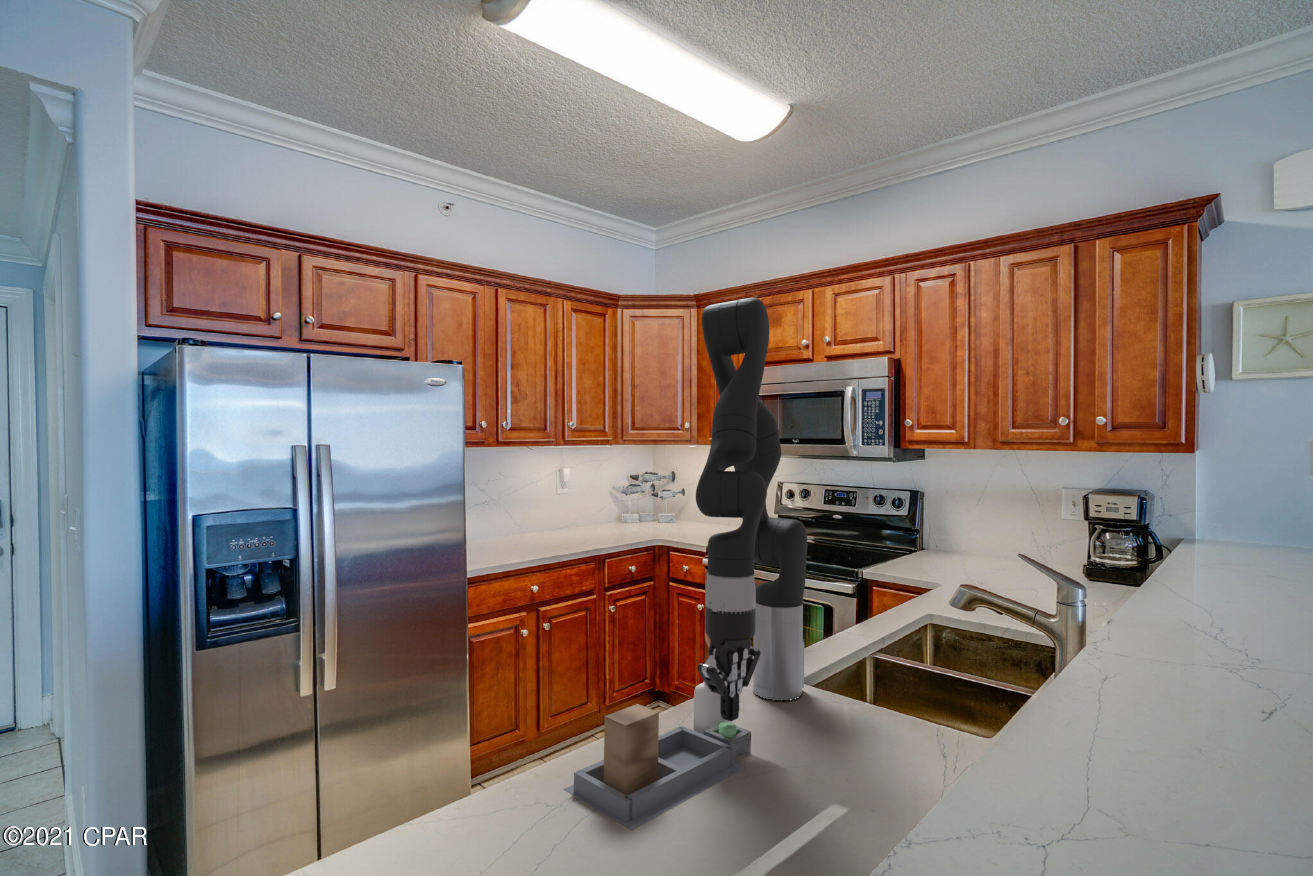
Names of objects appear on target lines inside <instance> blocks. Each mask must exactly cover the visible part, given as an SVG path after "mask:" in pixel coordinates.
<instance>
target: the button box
mask: <svg viewBox="0 0 1313 876" xmlns="http://www.w3.org/2000/svg"><path fill="white" fill-rule="evenodd" d="M723 723H724V722H723ZM704 735H706V736H708V737H711V738H713V739H715V740H718V741H720V742H723V743H725V744H728V745H730V746H733V747H734V758H736V757H737V756H740V755H741V754H743V753H747V754H748V755H751V753H752V748H751V747H752V744H751V743H752V731H750V730H748V729H745V728H743V727H740V726H737V725H736V735H734V736H732V737H730V738H728V737H726V736H723V735H721V734H719V724H718V725H716V726H714V727H712V728H710V729H707V730H705V731H704Z"/></svg>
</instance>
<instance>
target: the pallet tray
mask: <svg viewBox="0 0 1313 876" xmlns="http://www.w3.org/2000/svg"><path fill="white" fill-rule="evenodd" d="M743 769H745V767H744V766H743V765H740V764H738V763H736V762H735V757H734V747H733V746H730V745H728V744H725V743H723V742H720V741H718V740H715V739H713V738H711V737H708V736H706V735H703V734H701V733H698V732H696V731H694V729H691V728H689V727H686V726H683V725H681V726H679V727H676V728H675V729H672V730H669V731H668V732H665V733H662V734H661V735H659V736H658V781H656V782H654V783H652V784H650V785H648V786H646V787H644V788H642V789H640V790H638V791H636V792H634V793H632V794H630V795H628V796H626V795H624V794H623V793H621V792H619V791H617V790H615V789H614V788H612V787H610V786H608V785H606V784H605V783H604V759H603V760H599V761H598V762H596V763H593V764H591V765H589V766H586V767H584V768H582V769H579V770H577V771H574V772H573V784H572V785H569V786H568V787H565V788H563V790H564V791H565V792H567V793H569V794H570V795H572V796H573V797H576V798H577V799H578V800H581V801H582V802H584V803H585V804H587V805H588V806H591V807H592V808H594V809H596V810H597V811H599V812H601V813H602V814H604V815H606V816H607V817H609V818H610V819H612V820H614V821H616V822H617V823H619V824H621V825H622V826H624V827H625V828H627V829H629V830H631V831H633V830H635V829H637V828H638V827H640V826H642V825H644V824H646V823H647V822H650V821H651V820H653V819H655V818H657V817H658V816H660V815H662V814H664V813H666V812H667V811H670V810H671V809H673V808H675V807H677V806H679V805H680V804H682V803H684V802H685V801H687V800H689V799H691V798H693V797H694V796H697V795H699V794H700V793H702V792H703V791H704V792H705V791H706V790H707V789H709V788H711V787H712V786H715V785H716V784H718V783H720V782H722V781H724V780H725V779H727V778H730V777H731V776H733V775H734V774H736V773H739V772H740V771H742V770H743Z"/></svg>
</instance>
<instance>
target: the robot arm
mask: <svg viewBox="0 0 1313 876" xmlns="http://www.w3.org/2000/svg"><path fill="white" fill-rule="evenodd" d="M701 330H702V334H703V335H702V336H703V341H704V345H705V348H706V353H707V355H708V358H709V362H710V363H709V364H710V366H711V369H712V373H713V376H714V379H715V382H716V387H717V391H718V396H719V397H718V399H717V401H716V404H715V407H714V409H713V413H712V422H711V425H712V426H711V438H710V439H711V441H710V449H709V453H708V456H707V459H706V462H705V465H704V467H703V470H702V471H701V475H700V477H699V479H698V483H697V485H696V489H695V502H696V506H697V508H698V510H699V511H700V513H701V514H703V515H704V516H705V517H709V518H728V519H729V518H732V519H733V518H734V519H739V518H740V519H741V520H742V522H741V524H740V526H739V527H738V528H736V529H734V530H730V531H723V532H719V533H715V534H713V535H710V537H709V539H708V541H707V576H706V577H707V578H706V584H705V616H704V617H705V623H704V624H705V627H704V628H705V633H706V636H708V637H709V639H710V642H709V643H710V644H709V646H708V657H707V659H706V661H705V662H704V663H702V662H701V663H699V664H698V665H697V671H698V673H699V674H700V676H701V678H702V679H703V682H704V681H705V683H706V684H707V686H708V688H709V689H710V691H711V692H713V693H717V694H720V706H721V707H720V713H721V717H722V718H723V719H725V720H728V721H729V723H732V722H734V721H736V720H737V719H739V717H740V716H739V715H740V714H739V712H740V695H741V693H742V691H743V688H744V687H746V688H747V687H748V686H749V685H750V682H751V680H752V692H753V693H754V694H755V696H757V695H758V696H757V697H759V696H760V698H762V697H763V698H762V699H765V698H766V699H765V700H768V699H772V700H771V701H775V700H781V701H780V702H783V701H782V700H790V699H795V698H797V697H799V696H800V695H801V694H803V691H802V688H804V689H805V641H804V639H803V637H804V635H803V634H804V633H803V632H804V631H803V630H804V627H803V626H804V622H803V621H804V619H803V618H804V617H803V615H804V593H805V588H806V587H805V586H806V573H807V571H806V570H807V555H808V534H807V530H806V527H805V525H804V523H803V522H802V521H801V520H799V519H798V520H797V519H793V518H782V517H771V516H769V514H768V509H767V503H766V502H767V496H768V489H769V486H770V485H771V482H772V479H773V478H774V476H775V473H776V472H777V469H778V467H779V464H780V461H781V457H782V448H781V447H782V445H781V440H780V437H779V436H780V435H779V431H778V425H777V420H776V419H775V416H774V414H773V413H772V411H771V410H770V408H768V407H767V406H766V405H765V403H764V402H763V401H762V400H761V399H760V391H761V387H762V381H763V378H764V373H765V368H766V367H765V366H766V360H767V355H768V349H769V343H770V341H769V340H770V319H769V315H768V312H767V308H766V306H765V304H764V303H763V301H762V300H761V299H760V298H758V297H746V298H742V299H736V300H732V301H725V302H721V303H720V302H719V303H713V304H710V305H708V306H705V308H703V310H702V314H701ZM741 354H742V355H743V358H742V361H741V363H740V365H739V367H738V368H737V367H736V365H735V364H734V361H733V358H732V356H736V355H741ZM731 467H733V468H734V470H727V469H729V468H731ZM755 563H756V564H759V565H763V566H770V567H778V568H779V574H778V577H777V578H776V579H774V580H771V581H767V582H763V583H759V584H758V585H756V579H755ZM751 639H753V645H752V640H751ZM752 646H753V647H752ZM801 696H802V695H801ZM795 700H796V699H795ZM790 701H791V700H790Z"/></svg>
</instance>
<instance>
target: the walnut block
mask: <svg viewBox="0 0 1313 876" xmlns="http://www.w3.org/2000/svg"><path fill="white" fill-rule="evenodd" d="M659 715H660V712H659V711H657V710H654V709H651V708H649V707H647V706H644V705H641V704H639V703H636V704H634V705H632V706H631V705H630V706H628V707H625V708H623V709H620V710H618V711H614V712H612V713H609V714H607V715H605V716H604V723H603V724H604V725H603V726H604V727H603V728H604V730H603V731H604V732H603V734H604V735H603V736H604V738H603V739H604V740H603V743H604V745H603V760H604V783H605V784H606V785H608V786H610V787H612V788H614V789H615V790H617V791H619V792H621V793H623V794H624V795H626V796H628V795H630V794H632V793H634V792H636V791H638V790H640V789H642V788H644V787H646V786H648V785H650V784H652V783H654V782H656V781H658V736H660V735H659V728H660V727H659V726H660V725H659V723H660V719H659V717H660V716H659Z"/></svg>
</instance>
